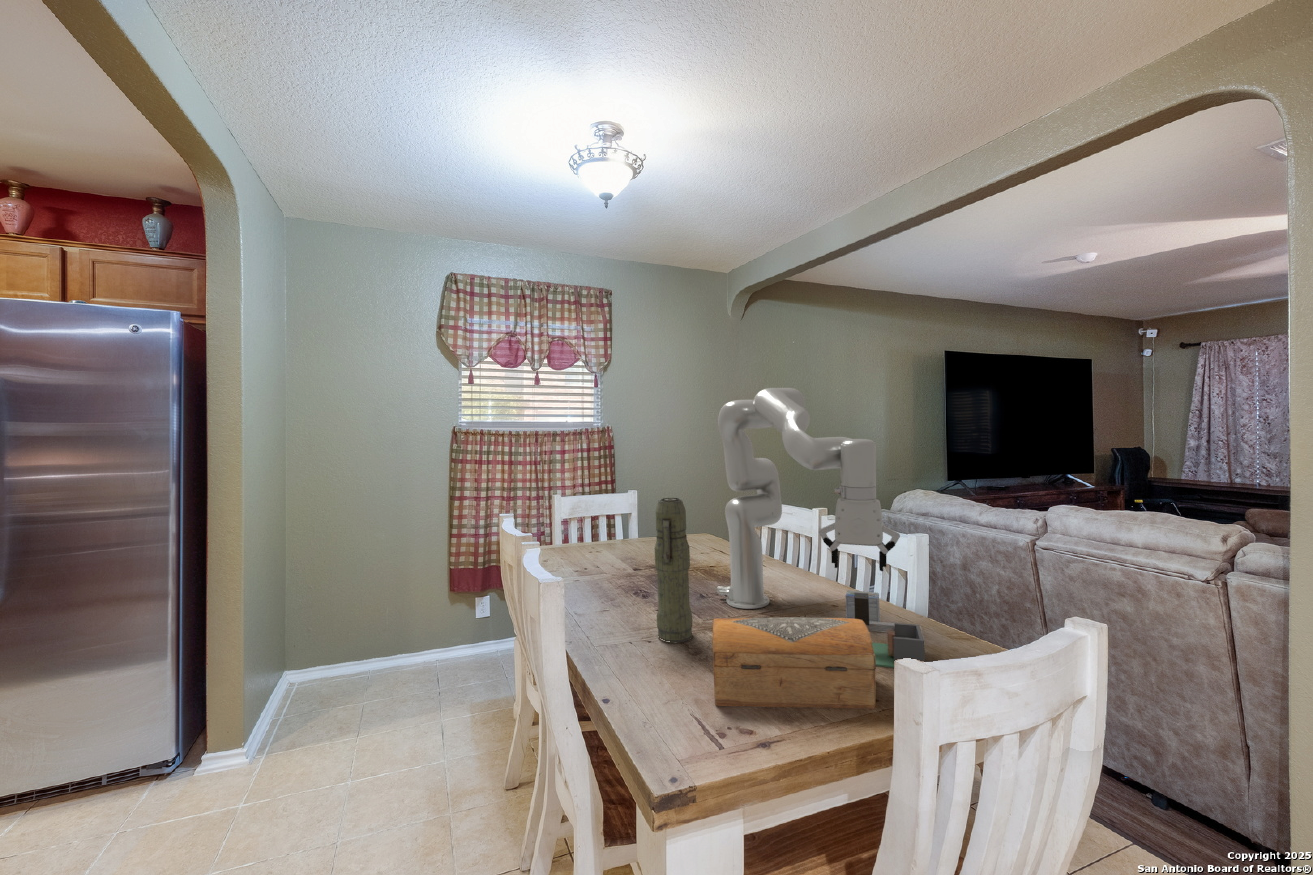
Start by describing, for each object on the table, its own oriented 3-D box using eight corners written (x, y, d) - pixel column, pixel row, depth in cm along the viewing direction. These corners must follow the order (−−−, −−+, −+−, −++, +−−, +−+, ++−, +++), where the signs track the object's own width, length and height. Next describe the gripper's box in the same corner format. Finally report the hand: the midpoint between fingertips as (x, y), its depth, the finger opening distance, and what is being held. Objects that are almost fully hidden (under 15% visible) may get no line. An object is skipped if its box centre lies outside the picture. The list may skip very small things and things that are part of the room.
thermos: (694, 627, 145) (689, 495, 144) (690, 646, 134) (685, 502, 133) (661, 627, 147) (656, 496, 146) (654, 645, 135) (648, 502, 134)
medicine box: (880, 625, 142) (879, 592, 142) (879, 631, 138) (878, 597, 138) (848, 622, 146) (847, 589, 145) (846, 628, 142) (845, 594, 141)
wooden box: (856, 671, 118) (855, 607, 117) (878, 712, 101) (876, 637, 101) (715, 668, 122) (713, 606, 121) (713, 707, 105) (711, 635, 105)
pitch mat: (850, 663, 121) (850, 661, 121) (850, 642, 133) (850, 640, 133) (920, 670, 117) (920, 668, 117) (914, 648, 128) (914, 646, 128)
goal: (894, 665, 119) (893, 638, 119) (891, 647, 128) (890, 622, 128) (925, 668, 117) (924, 640, 117) (920, 650, 126) (919, 624, 126)
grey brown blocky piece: (825, 649, 127) (824, 596, 126) (826, 642, 131) (825, 590, 131) (895, 656, 122) (894, 600, 121) (894, 648, 126) (893, 594, 126)
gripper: (817, 495, 125) (818, 569, 126) (901, 497, 119) (901, 575, 120) (819, 490, 132) (820, 560, 133) (898, 492, 126) (898, 566, 127)
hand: (858, 567), depth 126 cm, fingers open, 9 cm apart
